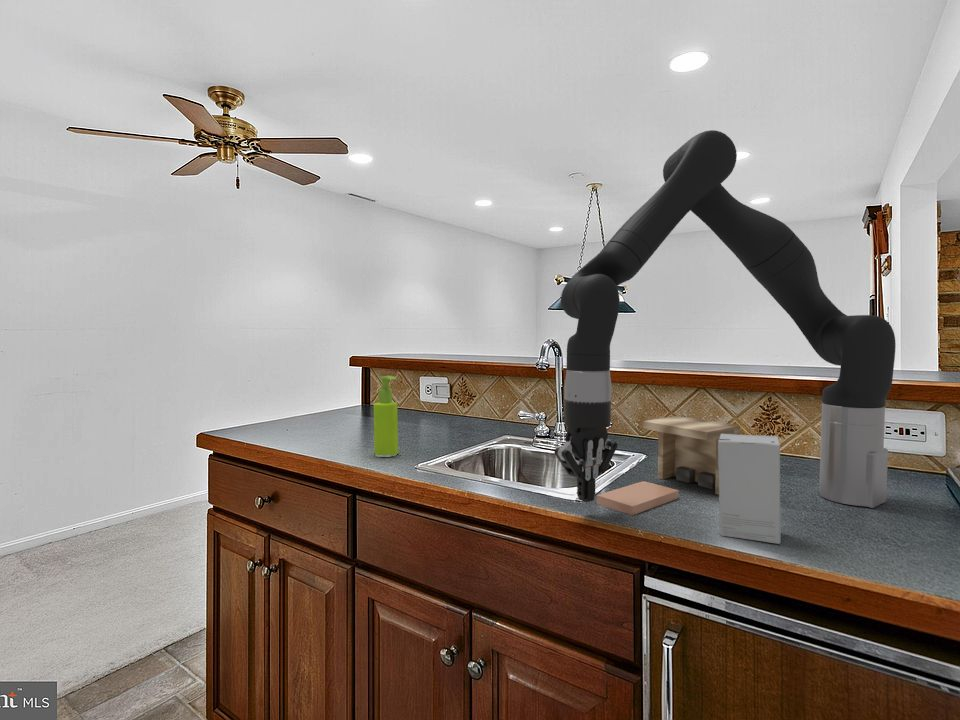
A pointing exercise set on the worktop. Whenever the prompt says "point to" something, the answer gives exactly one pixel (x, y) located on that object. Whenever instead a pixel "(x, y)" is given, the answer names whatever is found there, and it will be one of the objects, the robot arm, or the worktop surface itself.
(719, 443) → the skincare box
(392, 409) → the soap dispenser
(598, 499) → the tile
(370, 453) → the worktop surface
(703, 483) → the shelf
